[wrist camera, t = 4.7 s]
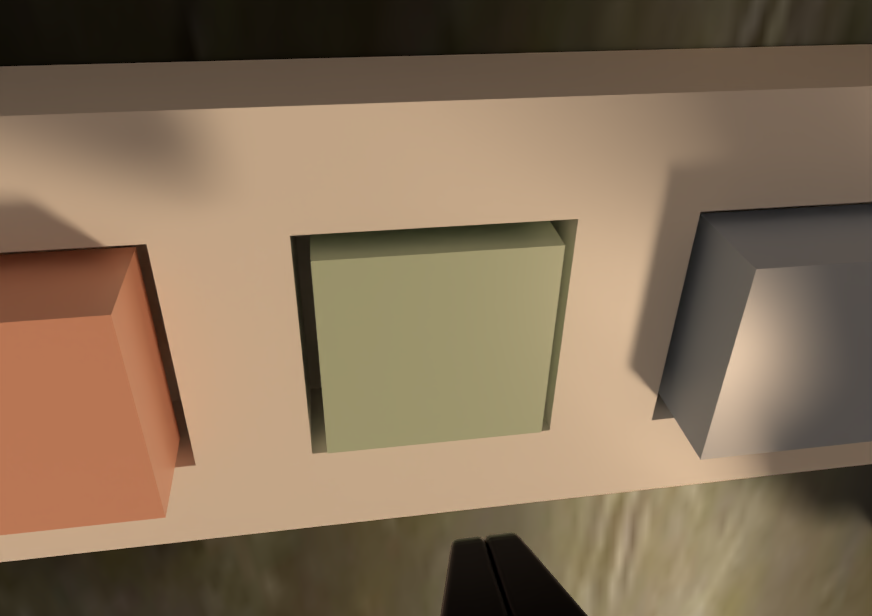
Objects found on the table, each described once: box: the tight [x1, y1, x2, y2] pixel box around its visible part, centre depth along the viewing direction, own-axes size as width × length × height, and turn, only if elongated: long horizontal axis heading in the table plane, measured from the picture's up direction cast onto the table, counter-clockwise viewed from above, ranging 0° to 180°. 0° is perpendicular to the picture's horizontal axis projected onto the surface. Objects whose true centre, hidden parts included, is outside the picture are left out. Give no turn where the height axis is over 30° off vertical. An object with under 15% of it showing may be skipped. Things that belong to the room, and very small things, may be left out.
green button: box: [310, 221, 565, 453], centre depth 14 cm, size 4×4×2 cm
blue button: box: [658, 204, 872, 460], centre depth 14 cm, size 4×4×2 cm
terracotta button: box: [0, 247, 180, 535], centre depth 12 cm, size 4×4×2 cm
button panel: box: [0, 44, 872, 562], centre depth 15 cm, size 21×9×2 cm, turn 89°
